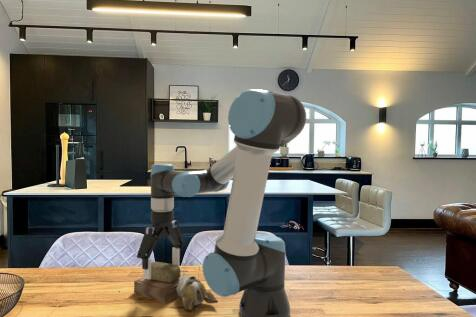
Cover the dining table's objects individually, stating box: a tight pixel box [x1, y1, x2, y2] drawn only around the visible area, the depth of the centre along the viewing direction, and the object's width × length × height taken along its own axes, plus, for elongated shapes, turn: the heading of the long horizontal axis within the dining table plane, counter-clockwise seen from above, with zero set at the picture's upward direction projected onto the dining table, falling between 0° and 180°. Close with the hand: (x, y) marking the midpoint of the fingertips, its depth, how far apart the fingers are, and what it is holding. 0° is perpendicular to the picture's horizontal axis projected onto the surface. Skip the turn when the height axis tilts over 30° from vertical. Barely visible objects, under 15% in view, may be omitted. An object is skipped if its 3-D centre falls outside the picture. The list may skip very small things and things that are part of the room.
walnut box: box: [133, 275, 182, 304], centre depth 121 cm, size 14×12×4 cm
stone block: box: [151, 261, 182, 283], centre depth 121 cm, size 6×12×5 cm, turn 69°
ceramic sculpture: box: [176, 273, 219, 311], centre depth 113 cm, size 11×9×15 cm
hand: (162, 272), depth 121 cm, fingers open, 13 cm apart
